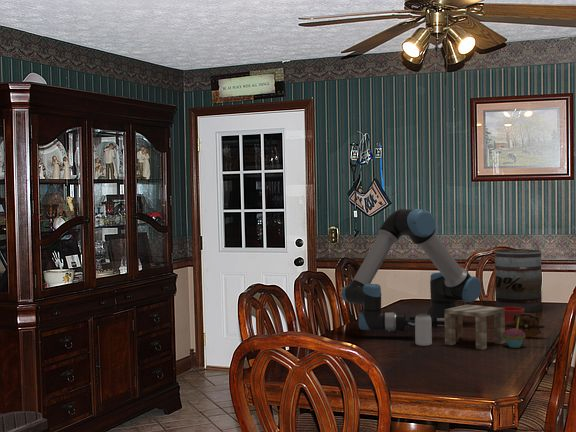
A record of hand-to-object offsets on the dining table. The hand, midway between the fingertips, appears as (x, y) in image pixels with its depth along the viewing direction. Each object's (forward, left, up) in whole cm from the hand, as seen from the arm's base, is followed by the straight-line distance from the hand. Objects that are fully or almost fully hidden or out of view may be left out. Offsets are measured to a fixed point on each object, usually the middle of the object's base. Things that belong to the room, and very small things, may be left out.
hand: (452, 322), depth 326 cm
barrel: (-16, +86, -7) cm, 88 cm away
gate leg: (+3, -2, -6) cm, 7 cm away
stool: (+13, -4, -7) cm, 15 cm away
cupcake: (+28, 0, -7) cm, 28 cm away
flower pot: (+10, +31, -7) cm, 33 cm away
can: (-2, -18, -7) cm, 19 cm away
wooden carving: (+22, +20, -7) cm, 30 cm away
